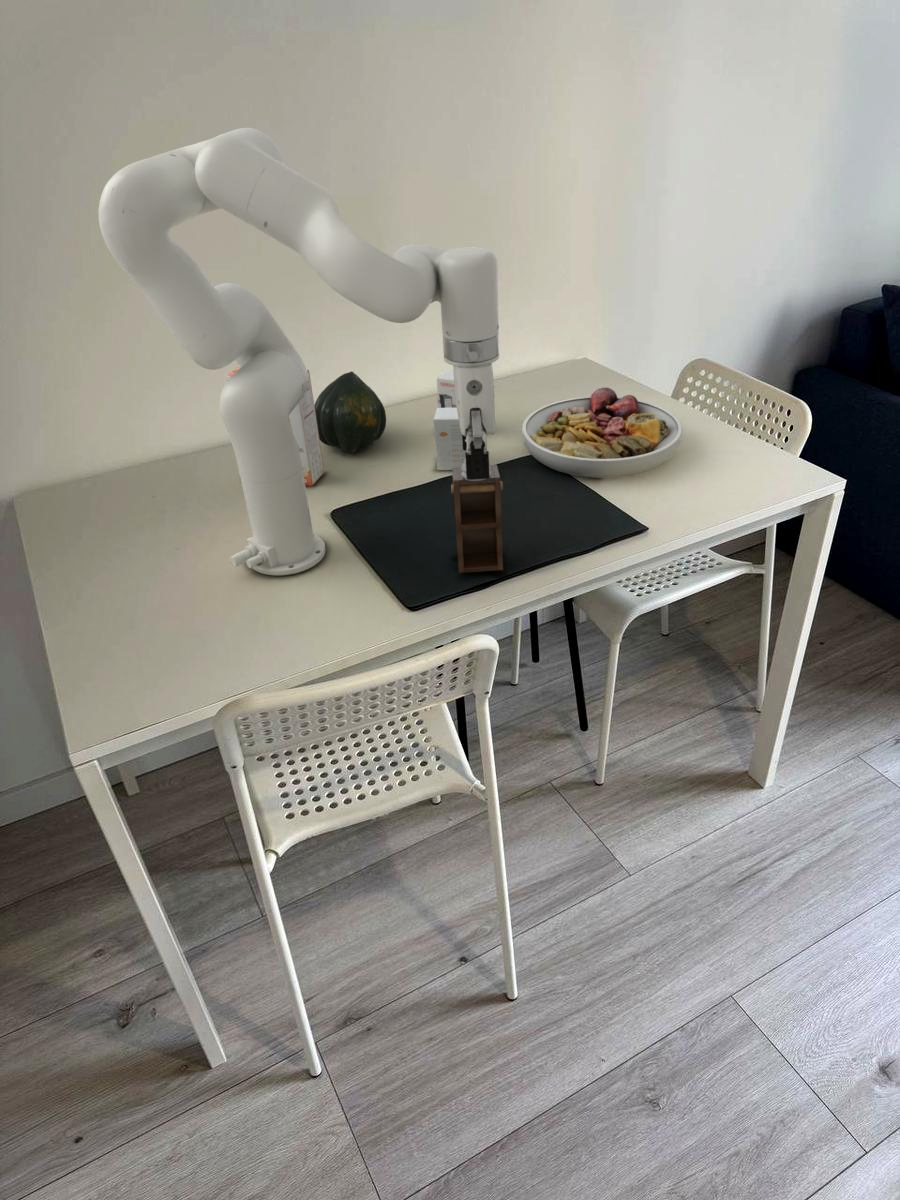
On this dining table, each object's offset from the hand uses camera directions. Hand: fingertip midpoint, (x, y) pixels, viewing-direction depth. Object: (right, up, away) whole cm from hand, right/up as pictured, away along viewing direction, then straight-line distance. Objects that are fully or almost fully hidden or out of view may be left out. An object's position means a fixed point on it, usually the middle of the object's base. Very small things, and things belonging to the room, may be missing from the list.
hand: (475, 463), depth 126 cm
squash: (-24, +12, +51) cm, 57 cm away
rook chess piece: (0, -2, +1) cm, 2 cm away
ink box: (-1, +15, +53) cm, 55 cm away
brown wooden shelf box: (0, -6, +9) cm, 11 cm away
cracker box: (-35, +3, +40) cm, 53 cm away
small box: (-2, +6, +40) cm, 41 cm away
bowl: (+25, +9, +42) cm, 50 cm away
